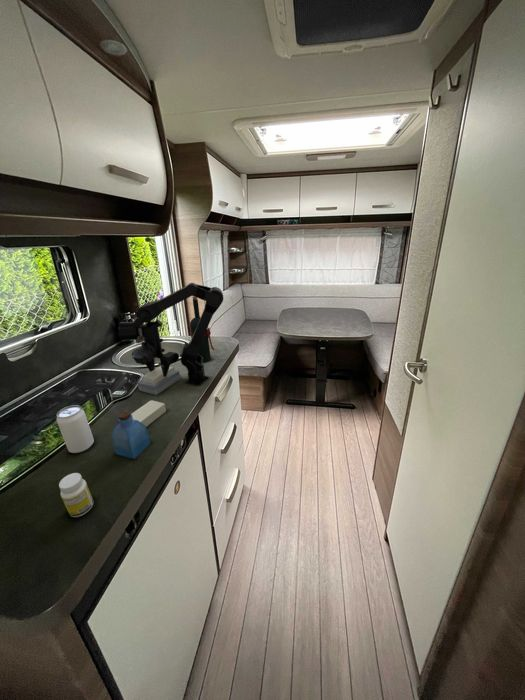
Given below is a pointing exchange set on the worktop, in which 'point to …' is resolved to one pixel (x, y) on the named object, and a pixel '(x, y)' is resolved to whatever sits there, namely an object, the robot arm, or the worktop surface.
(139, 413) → the white books
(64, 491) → the supplement bottle
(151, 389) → the grey books
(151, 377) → the white book
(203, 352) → the wine bottle
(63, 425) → the can
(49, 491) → the worktop surface
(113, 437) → the perfume bottle
